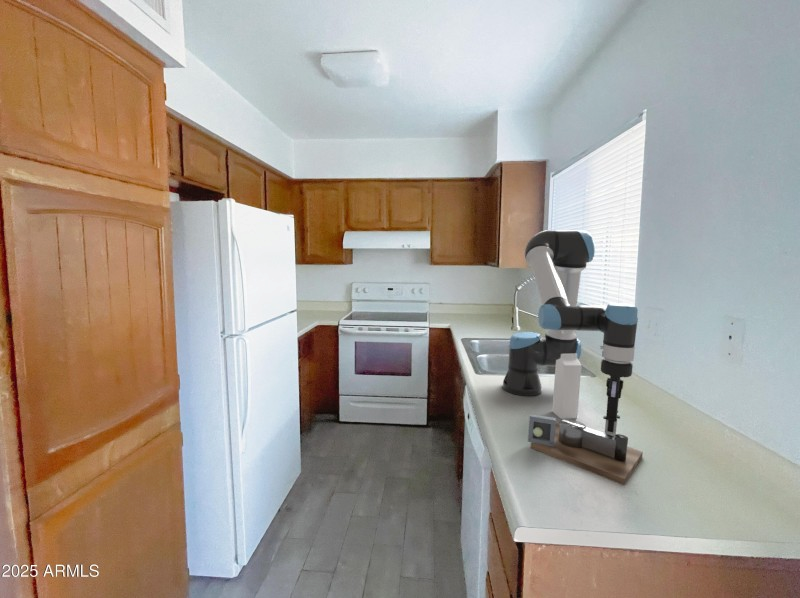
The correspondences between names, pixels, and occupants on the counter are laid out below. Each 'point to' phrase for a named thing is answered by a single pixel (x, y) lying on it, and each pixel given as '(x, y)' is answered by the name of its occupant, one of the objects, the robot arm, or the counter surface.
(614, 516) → the counter surface
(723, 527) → the counter surface
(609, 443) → the crank handle
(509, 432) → the counter surface
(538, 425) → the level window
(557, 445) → the stand board
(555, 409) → the milk
